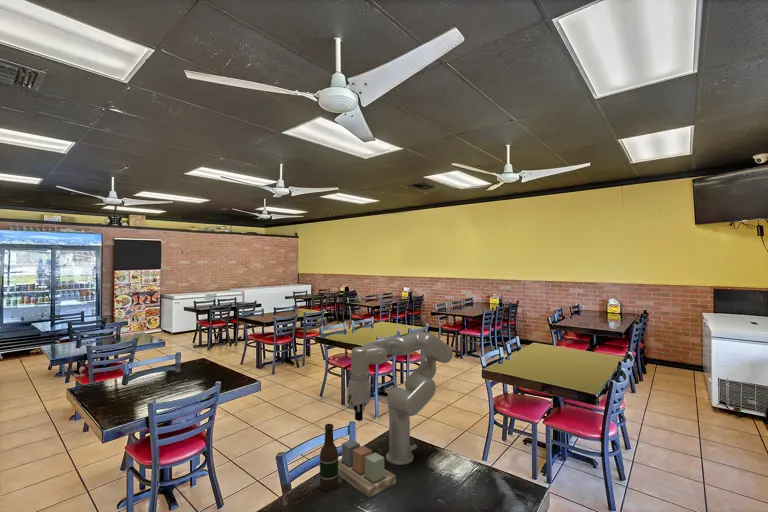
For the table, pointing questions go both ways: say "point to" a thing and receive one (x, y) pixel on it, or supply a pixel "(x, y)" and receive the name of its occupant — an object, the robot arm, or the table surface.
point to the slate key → (349, 452)
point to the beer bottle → (328, 461)
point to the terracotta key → (360, 459)
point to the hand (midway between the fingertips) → (358, 419)
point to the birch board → (365, 480)
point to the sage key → (374, 467)
